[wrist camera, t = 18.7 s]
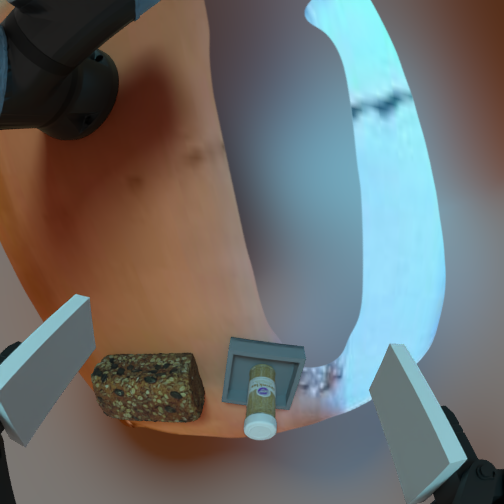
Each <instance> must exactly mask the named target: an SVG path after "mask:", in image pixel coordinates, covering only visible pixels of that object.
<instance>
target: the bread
mask: <svg viewBox="0 0 504 504" xmlns="http://www.w3.org/2000/svg"><path fill="white" fill-rule="evenodd" d="M91 378H92V380H91V381H92V383H93V388H94V392H95V395H96V398H97V402H98V403H99V406H100V407H101V408H102V410H103V412H104V413H105V414H106V415H107V416H109V417H112V418H117V419H123V420H124V419H126V420H136V421H143V420H144V421H154V422H156V421H161V422H185V423H186V422H191V421H195V420H197V419H198V418H199V417H200V415H201V413H202V409H203V405H204V399H205V398H204V394H205V391H204V387H203V386H202V380H201V378H200V376H199V374H198V369H197V365H196V362H195V358H194V356H193V354H191V353H182V354H180V353H179V354H174V353H169V354H163V353H159V354H136V355H133V354H120V355H119V354H116V355H107V356H106V357H104V358H103V359H102V361H101V362H100V363H98V364H97V365H96V366H95V368H94V372H93V373H92V374H91Z"/></svg>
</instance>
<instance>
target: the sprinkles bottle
mask: <svg viewBox="0 0 504 504" xmlns="http://www.w3.org/2000/svg"><path fill="white" fill-rule="evenodd" d="M275 375H276V373H275V370H274V369H273V368H272V367H271V366H269V365H266V364H258V365H256V366H254V367H253V368H251V370H250V372H249V376H250V378H249V385H248V396H247V412H246V418H245V421H244V433H245V434H246V435H247V436H248V437H249V438H252V439H255V440H266V439H270V438H271V437H273V436H274V435H275V434H276V429H277V422H276V419H275V398H276V387H275Z"/></svg>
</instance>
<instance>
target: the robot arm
mask: <svg viewBox="0 0 504 504" xmlns="http://www.w3.org/2000/svg"><path fill="white" fill-rule="evenodd" d="M7 1H8V2H9V3H10V4H12V5H13V6H15V8H14V9H13V10H12V11H11V13H10V14H9V15H8V16H7V17H6V18H5V19H4V21H3V22H2V23H1V24H0V130H5V129H25V128H37V129H39V130H41V131H42V132H44V133H46V134H47V135H49V136H51V137H53V138H56V139H60V140H75V139H80V138H83V137H85V136H87V135H89V134H91V133H92V132H93V131H95V130H96V129H97V128H98V127H99V126H100V125H101V124H102V123H103V122H104V121H105V119H106V118H107V116H108V115H109V113H110V111H111V109H112V107H113V105H114V103H115V100H116V96H117V92H118V82H119V80H118V72H117V68H116V66H115V63H114V62H113V60H112V59H111V57H110V56H109V55H107V54H106V53H105V52H103V51H101V50H99V49H98V48H99V47H100V46H101V45H103V44H104V43H105V42H106V41H107V40H109V39H110V38H111V37H112V36H114V35H115V34H116V33H117V32H119V31H120V30H121V29H123V28H124V27H125V26H127V25H128V24H129V23H131V22H132V21H136V20H138V19H139V17H140V15H142V14H143V13H144V12H146V11H147V10H148V9H150V8H151V7H152V6H154V5H155V4H157V3H158V2H159V1H160V0H7ZM95 348H96V346H95V339H94V332H93V324H92V316H91V307H90V298H89V297H85V296H81V295H77V294H75V295H74V296H73V297H72V298H71V299H69V300H68V301H67V302H66V303H65V304H64V305H63V306H61V307H60V308H59V309H58V310H57V311H56V312H55V313H54V314H53V315H51V316H50V317H49V318H48V319H47V320H46V321H45V322H44V323H43V324H42V325H41V326H40V327H39V328H37V329H36V330H35V331H34V332H33V333H32V334H31V335H30V336H29V337H28V338H27V339H26V340H25V341H24V342H23V343H21V342H19V341H18V342H16V343H14V344H12V345H10V346H8V347H7V348H6V349H5V350H4V351H3V352H2V353H1V354H0V504H16V502H15V499H14V494H13V490H12V486H11V481H10V477H9V472H8V466H7V461H6V455H5V448H4V441H3V438H2V436H1V433H2V431H3V430H4V429H5V430H6V432H7V434H8V435H9V437H10V439H12V440H14V441H15V442H17V443H19V444H20V445H22V446H24V447H26V446H27V444H28V443H29V441H30V440H31V438H32V437H33V435H34V434H35V432H36V430H37V429H38V428H39V426H40V425H41V423H42V422H43V420H44V419H45V417H46V416H47V414H48V413H49V411H50V410H51V409H52V407H53V405H54V404H55V403H56V401H57V400H58V399H59V397H60V396H61V394H62V393H63V392H64V390H65V389H66V387H67V386H68V384H69V383H70V382H71V380H72V379H73V378H74V376H75V375H76V374H77V372H78V371H79V370H80V368H81V367H82V365H83V364H84V363H85V361H86V360H87V359H88V357H89V356H90V355H91V353H92V352H93V351H94V350H95ZM369 391H370V394H371V397H372V399H373V402H374V405H375V408H376V411H377V413H378V416H379V419H380V422H381V425H382V428H383V431H384V434H385V437H386V440H387V443H388V445H389V449H390V452H391V455H392V458H393V461H394V465H395V468H396V471H397V474H398V478H399V481H400V484H401V488H402V491H403V494H404V498H405V501H406V504H416V503H421V502H424V501H425V500H426V499H427V498H429V497H430V496H431V495H432V494H434V497H435V500H434V501H433V502H432V503H431V504H504V469H496V468H495V467H494V466H493V465H492V463H490V462H489V461H487V460H479V459H478V458H477V456H476V454H475V452H474V450H473V448H472V446H471V445H470V442H469V440H468V439H467V437H466V435H465V433H463V429H462V428H461V426H460V425H459V422H458V420H457V418H456V417H455V415H454V413H453V412H451V411H450V410H449V409H448V408H447V407H446V406H440V405H439V403H438V401H437V399H436V398H435V396H434V394H433V392H432V391H431V389H430V387H429V385H428V384H427V382H426V380H425V378H424V377H423V375H422V373H421V371H420V370H419V368H418V366H417V365H416V363H415V361H414V360H413V358H412V356H411V355H410V353H409V351H408V350H407V348H406V346H405V345H404V344H389V347H388V349H387V351H386V354H385V356H384V358H383V361H382V363H381V365H380V367H379V370H378V372H377V374H376V376H375V378H374V380H373V382H372V384H371V387H370V389H369Z"/></svg>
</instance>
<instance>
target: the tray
mask: <svg viewBox="0 0 504 504" xmlns="http://www.w3.org/2000/svg"><path fill="white" fill-rule="evenodd" d="M305 360H306V357H305V351H304V347H303V346H294V345H286V344H278V343H270V342H263V341H256V340H249V339H242V338H235V337H231V340H230V345H229V351H228V358H227V366H226V373H225V380H224V388H223V395H222V402H227V403H234V404H241V405H247V396H248V385H249V378H250V376H249V372H250V370H251V368H253V367H254V366H256V365H258V364H266V365H269V366H271V367H272V368H273V369H274V370H275V373H276V375H275V387H276V398H275V409H285V410H289V409H290V407H291V404H292V401H293V398H294V395H295V392H296V389H297V386H298V383H299V380H300V377H301V373H302V370H303V367H304V364H305Z"/></svg>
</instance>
